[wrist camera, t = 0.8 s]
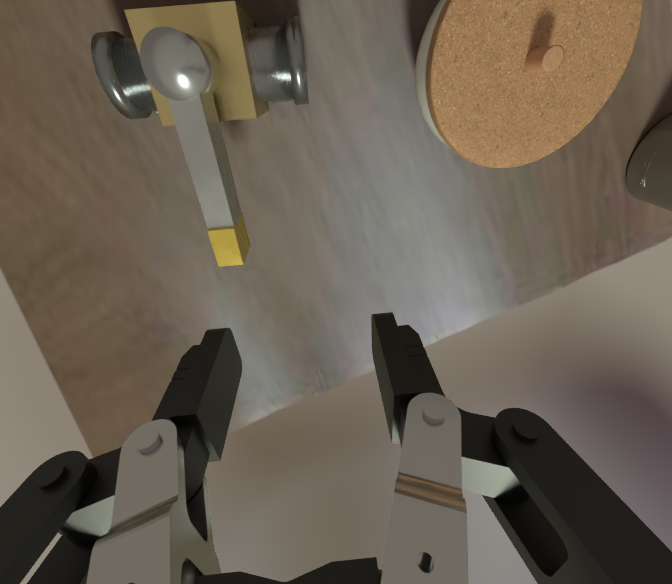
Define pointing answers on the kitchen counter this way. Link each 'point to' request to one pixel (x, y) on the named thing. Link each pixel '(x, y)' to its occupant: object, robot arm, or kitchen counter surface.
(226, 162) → the lever
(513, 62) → the lidded bowl
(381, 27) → the kitchen counter surface
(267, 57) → the ball valve
